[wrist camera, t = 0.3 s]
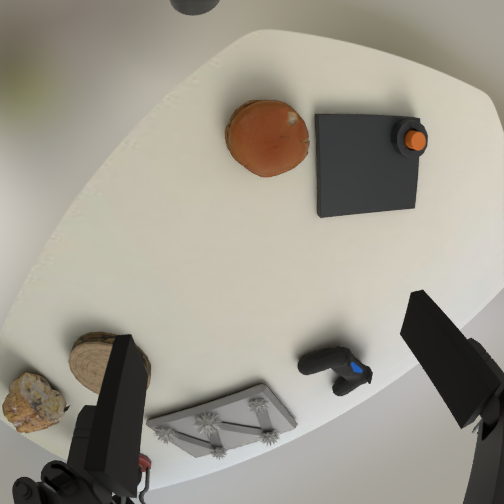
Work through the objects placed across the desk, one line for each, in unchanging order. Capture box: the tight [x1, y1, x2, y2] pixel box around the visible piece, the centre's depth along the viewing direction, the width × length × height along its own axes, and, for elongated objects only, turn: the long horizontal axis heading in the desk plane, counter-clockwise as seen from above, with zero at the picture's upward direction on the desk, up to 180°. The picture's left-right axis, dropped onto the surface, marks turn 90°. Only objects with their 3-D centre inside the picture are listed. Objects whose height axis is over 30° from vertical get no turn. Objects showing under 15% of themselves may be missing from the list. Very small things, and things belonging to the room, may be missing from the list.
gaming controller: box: [298, 346, 373, 396], centre depth 56 cm, size 17×6×10 cm
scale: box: [315, 114, 428, 218], centre depth 39 cm, size 14×16×3 cm
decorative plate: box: [146, 384, 298, 460], centre depth 61 cm, size 30×22×7 cm
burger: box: [225, 100, 309, 177], centre depth 35 cm, size 10×9×5 cm
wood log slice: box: [68, 332, 151, 394], centre depth 50 cm, size 16×16×3 cm
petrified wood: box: [2, 372, 70, 433], centre depth 50 cm, size 19×13×10 cm
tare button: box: [405, 130, 426, 151], centre depth 36 cm, size 3×3×2 cm
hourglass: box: [112, 454, 151, 504], centre depth 60 cm, size 16×16×25 cm
